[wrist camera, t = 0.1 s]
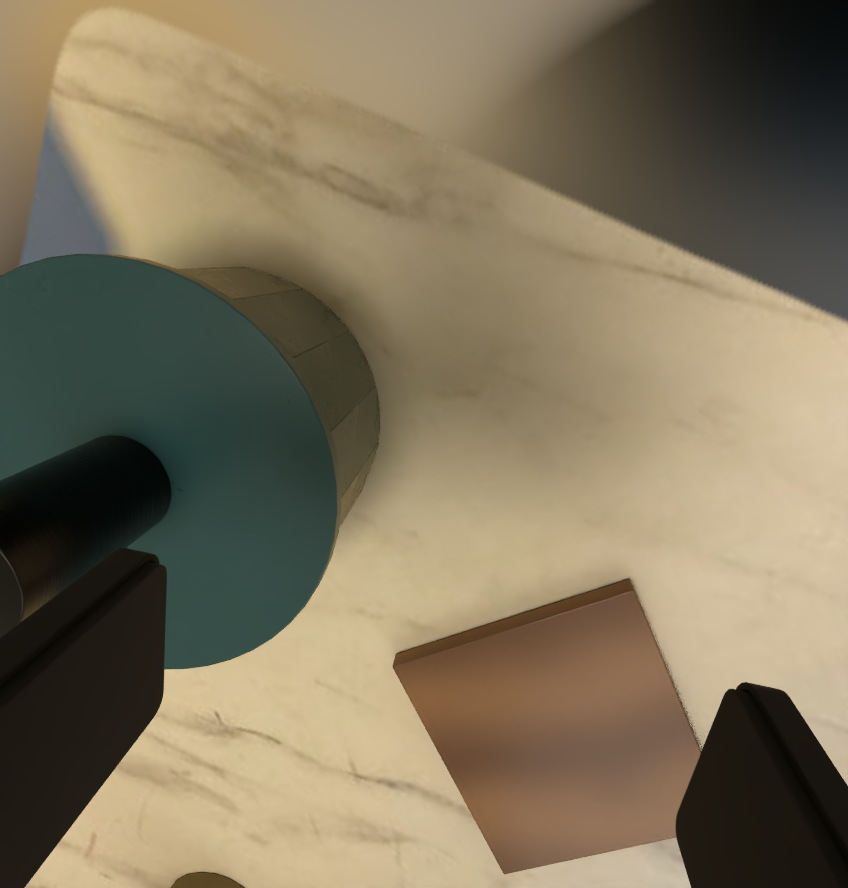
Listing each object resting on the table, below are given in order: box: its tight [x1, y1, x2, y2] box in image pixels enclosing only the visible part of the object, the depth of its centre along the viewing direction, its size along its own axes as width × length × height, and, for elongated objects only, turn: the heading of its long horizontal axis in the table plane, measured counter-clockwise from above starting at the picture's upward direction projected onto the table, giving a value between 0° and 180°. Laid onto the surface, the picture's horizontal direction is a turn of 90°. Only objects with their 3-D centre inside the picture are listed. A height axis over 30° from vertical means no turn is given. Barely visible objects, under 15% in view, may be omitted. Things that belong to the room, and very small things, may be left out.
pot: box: [178, 267, 380, 527], centre depth 23 cm, size 13×13×8 cm
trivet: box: [393, 579, 701, 874], centre depth 30 cm, size 14×12×1 cm
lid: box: [0, 254, 342, 669], centre depth 16 cm, size 14×14×7 cm
